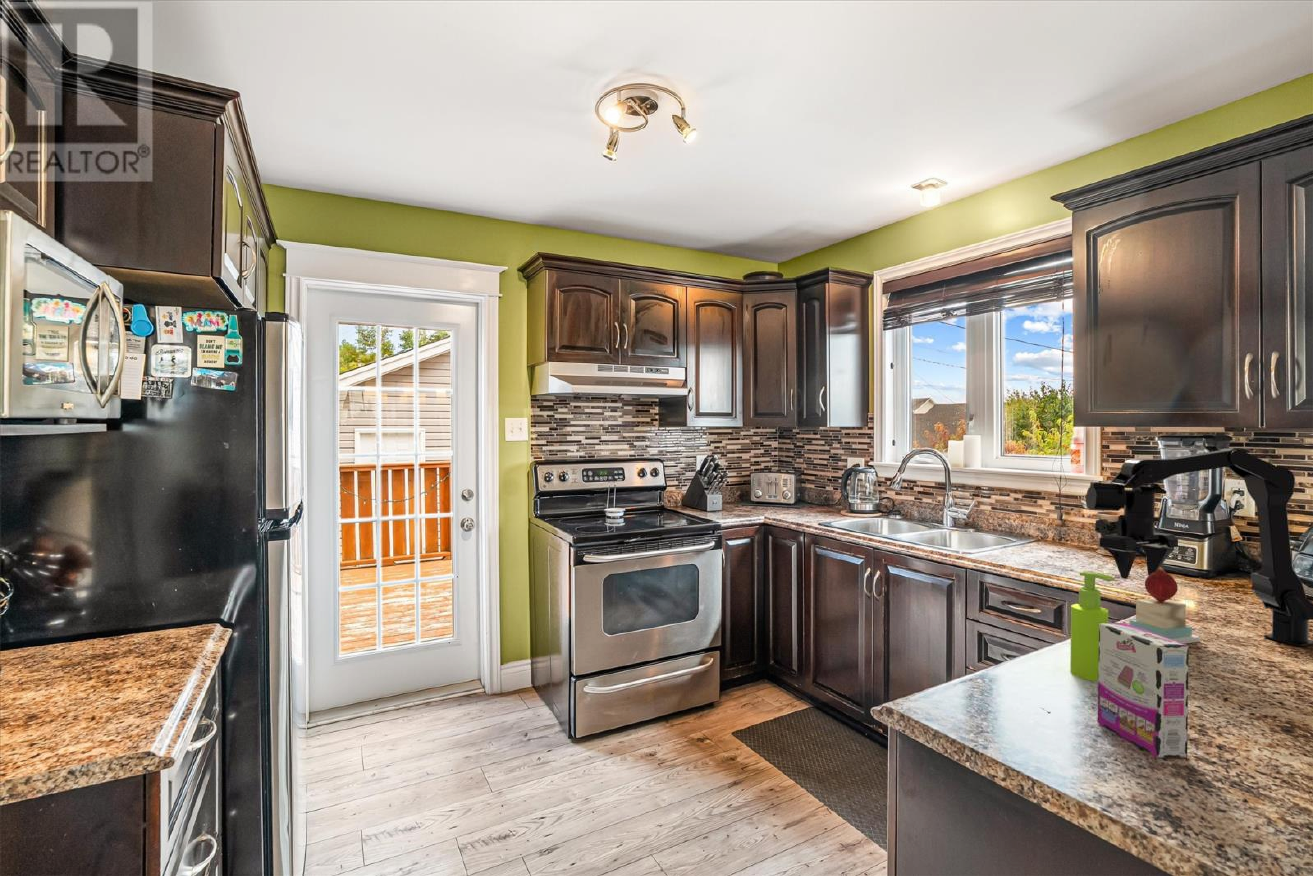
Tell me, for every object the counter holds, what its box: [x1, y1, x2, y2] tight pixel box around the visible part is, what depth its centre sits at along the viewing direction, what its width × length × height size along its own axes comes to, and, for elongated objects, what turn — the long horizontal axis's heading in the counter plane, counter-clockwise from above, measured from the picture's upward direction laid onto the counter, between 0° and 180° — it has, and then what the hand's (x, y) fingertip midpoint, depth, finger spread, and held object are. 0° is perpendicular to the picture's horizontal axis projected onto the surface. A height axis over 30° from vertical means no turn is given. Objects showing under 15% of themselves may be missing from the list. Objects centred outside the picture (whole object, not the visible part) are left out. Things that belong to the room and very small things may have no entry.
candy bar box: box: [1097, 622, 1190, 759], centre depth 93 cm, size 11×5×16 cm, turn 5°
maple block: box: [1135, 597, 1187, 629], centre depth 140 cm, size 7×6×5 cm
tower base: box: [1129, 618, 1201, 645], centre depth 140 cm, size 10×10×3 cm
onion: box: [1144, 567, 1179, 602], centre depth 140 cm, size 6×6×8 cm
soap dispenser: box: [1070, 570, 1116, 682], centre depth 117 cm, size 6×7×20 cm
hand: (1137, 577), depth 145 cm, fingers open, 9 cm apart
